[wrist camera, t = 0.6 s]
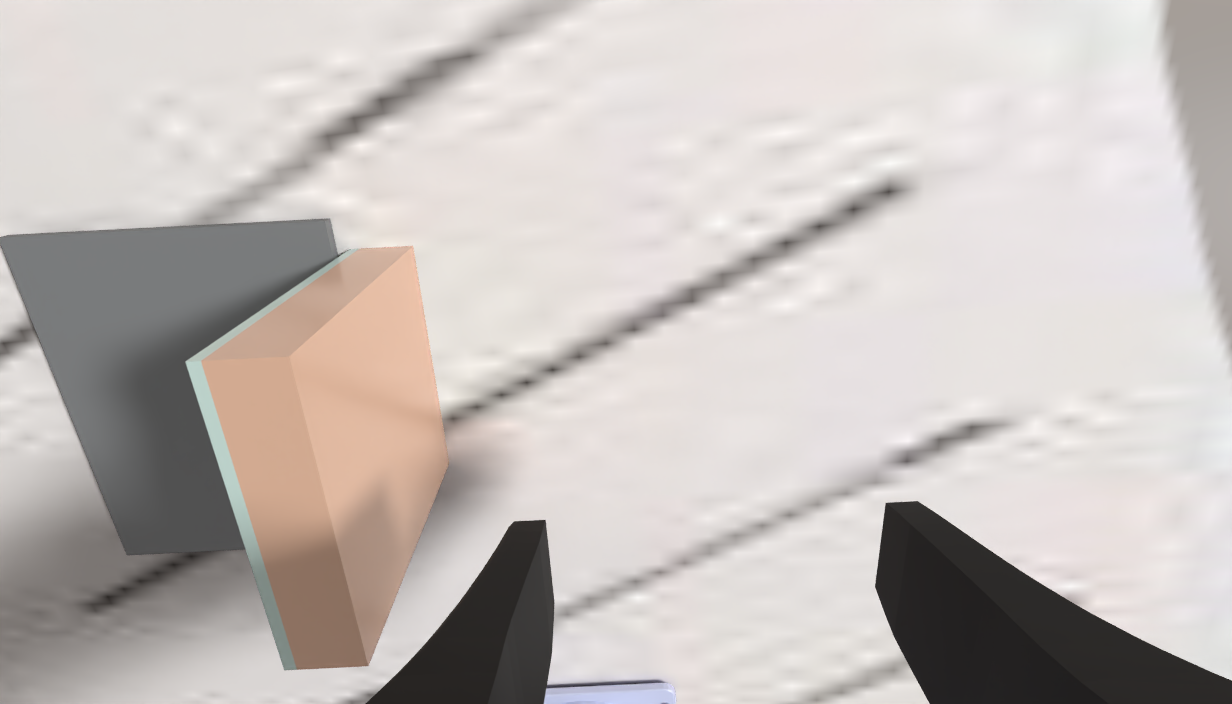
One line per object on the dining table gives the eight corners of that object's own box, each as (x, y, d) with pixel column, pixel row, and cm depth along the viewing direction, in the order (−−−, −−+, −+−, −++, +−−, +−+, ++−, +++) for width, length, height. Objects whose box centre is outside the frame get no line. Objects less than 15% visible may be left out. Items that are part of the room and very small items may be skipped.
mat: (397, 535, 25) (393, 541, 25) (133, 548, 25) (127, 555, 25) (330, 218, 21) (324, 221, 20) (8, 235, 21) (-2, 238, 20)
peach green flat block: (449, 462, 24) (368, 665, 16) (394, 465, 24) (284, 670, 16) (413, 246, 21) (289, 356, 13) (349, 249, 21) (185, 361, 13)
